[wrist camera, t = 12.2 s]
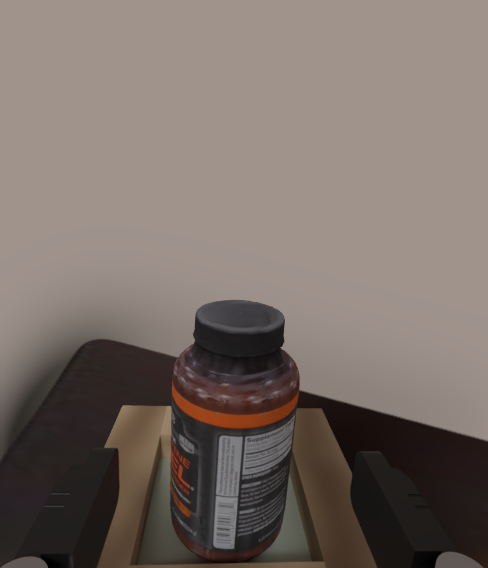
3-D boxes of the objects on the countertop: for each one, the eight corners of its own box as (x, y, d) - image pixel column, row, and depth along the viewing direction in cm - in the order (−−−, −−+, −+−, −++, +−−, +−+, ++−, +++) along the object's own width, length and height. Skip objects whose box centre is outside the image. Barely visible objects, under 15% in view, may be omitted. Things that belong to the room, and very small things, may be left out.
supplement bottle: (158, 488, 20) (158, 296, 18) (252, 461, 23) (266, 289, 20) (188, 594, 15) (196, 346, 12) (306, 544, 18) (336, 328, 15)
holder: (313, 419, 28) (315, 396, 27) (422, 685, 13) (432, 645, 13) (128, 417, 27) (127, 393, 26) (15, 706, 12) (9, 663, 11)
